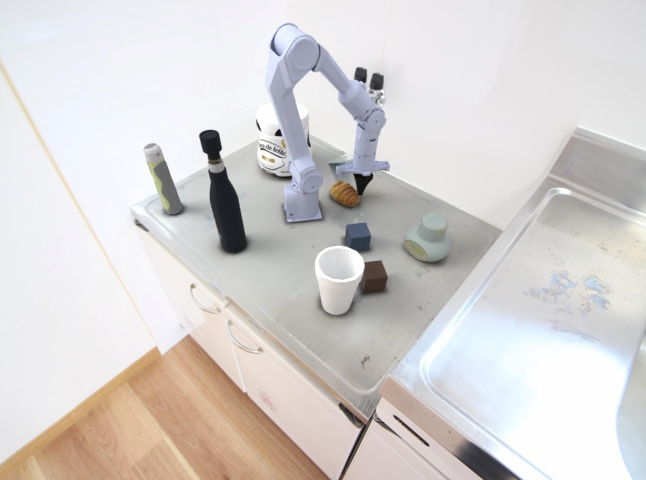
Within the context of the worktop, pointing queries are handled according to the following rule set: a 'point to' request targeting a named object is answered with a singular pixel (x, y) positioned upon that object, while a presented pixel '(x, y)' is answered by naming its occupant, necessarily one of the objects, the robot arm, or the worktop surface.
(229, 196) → the wine bottle
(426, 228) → the air freshener
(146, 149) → the spray bottle
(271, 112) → the milk container
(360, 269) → the foam cup
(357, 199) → the pastry
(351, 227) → the slate block
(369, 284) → the walnut block
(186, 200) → the worktop surface
